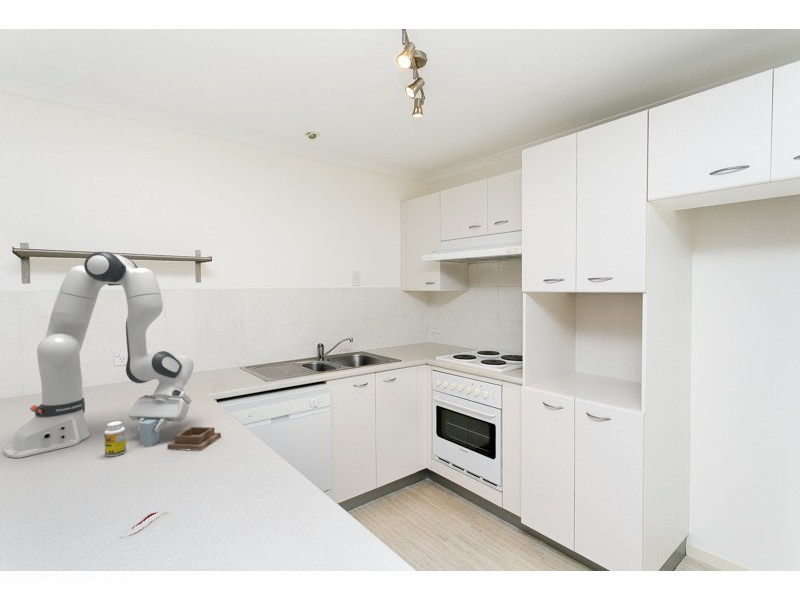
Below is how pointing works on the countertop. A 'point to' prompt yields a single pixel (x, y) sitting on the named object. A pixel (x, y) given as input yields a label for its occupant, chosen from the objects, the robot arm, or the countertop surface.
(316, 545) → the countertop surface
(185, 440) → the board
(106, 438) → the supplement bottle
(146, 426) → the block
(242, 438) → the countertop surface
